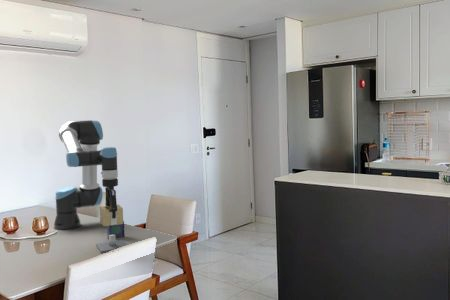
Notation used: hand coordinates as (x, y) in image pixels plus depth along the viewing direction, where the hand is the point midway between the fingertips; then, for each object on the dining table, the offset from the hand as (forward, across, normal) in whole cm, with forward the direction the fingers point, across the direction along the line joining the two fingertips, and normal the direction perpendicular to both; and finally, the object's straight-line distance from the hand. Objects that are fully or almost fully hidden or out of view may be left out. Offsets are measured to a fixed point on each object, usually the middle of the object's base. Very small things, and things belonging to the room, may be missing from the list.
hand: (111, 222), depth 209 cm
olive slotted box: (0, 0, 0) cm, 0 cm away
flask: (+13, -16, +5) cm, 21 cm away
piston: (+13, 0, 0) cm, 13 cm away
